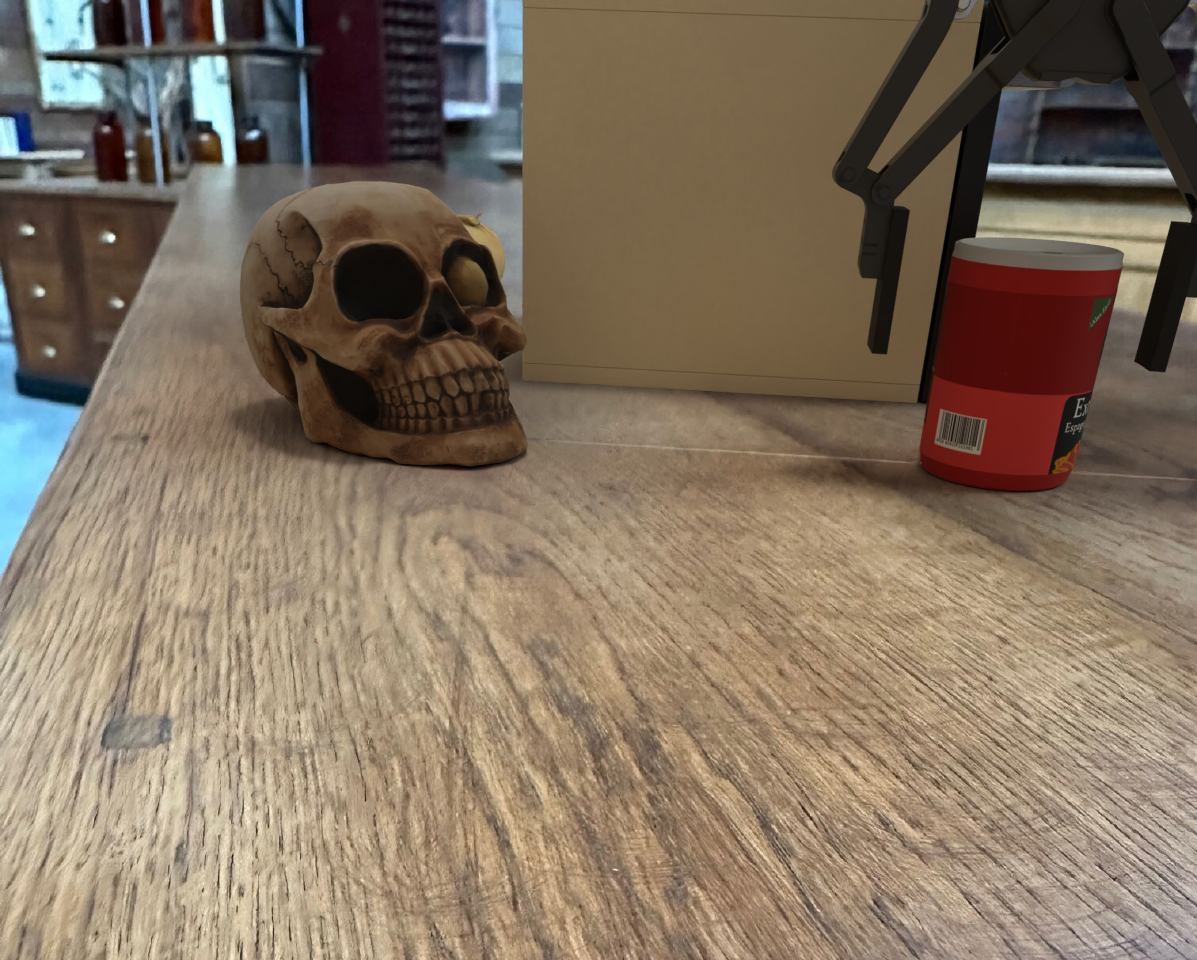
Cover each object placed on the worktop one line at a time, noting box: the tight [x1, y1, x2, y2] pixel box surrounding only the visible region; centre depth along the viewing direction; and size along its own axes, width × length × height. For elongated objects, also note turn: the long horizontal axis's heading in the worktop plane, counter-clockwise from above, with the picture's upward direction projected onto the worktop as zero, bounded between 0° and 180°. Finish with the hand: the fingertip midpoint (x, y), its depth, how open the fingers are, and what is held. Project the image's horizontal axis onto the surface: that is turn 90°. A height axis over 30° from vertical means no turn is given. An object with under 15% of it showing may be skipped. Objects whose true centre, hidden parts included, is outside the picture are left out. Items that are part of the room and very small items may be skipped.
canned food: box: [918, 236, 1125, 492], centre depth 60 cm, size 8×8×11 cm
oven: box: [521, 0, 985, 404], centre depth 84 cm, size 26×28×22 cm
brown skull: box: [239, 180, 528, 467], centre depth 64 cm, size 16×17×13 cm
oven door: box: [918, 0, 1077, 403], centre depth 83 cm, size 7×28×22 cm, turn 174°
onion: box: [455, 211, 506, 281], centre depth 111 cm, size 8×8×7 cm
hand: (1011, 359), depth 60 cm, fingers open, 13 cm apart
